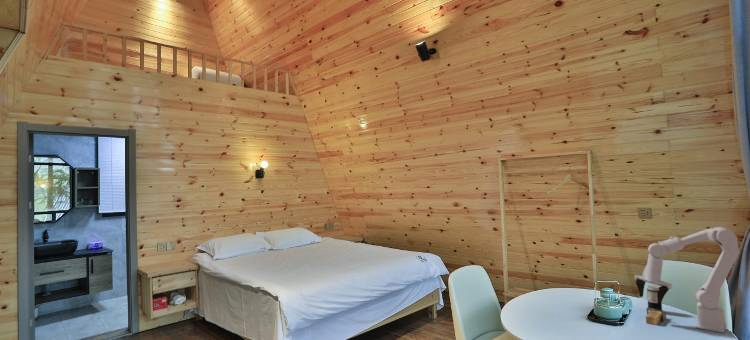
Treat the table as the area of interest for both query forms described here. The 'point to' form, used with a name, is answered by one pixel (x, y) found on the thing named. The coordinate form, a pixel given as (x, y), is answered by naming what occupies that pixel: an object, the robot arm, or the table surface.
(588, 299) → the table surface
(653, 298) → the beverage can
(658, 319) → the orange brown rectangular block
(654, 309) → the dispenser
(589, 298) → the table surface
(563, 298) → the table surface
